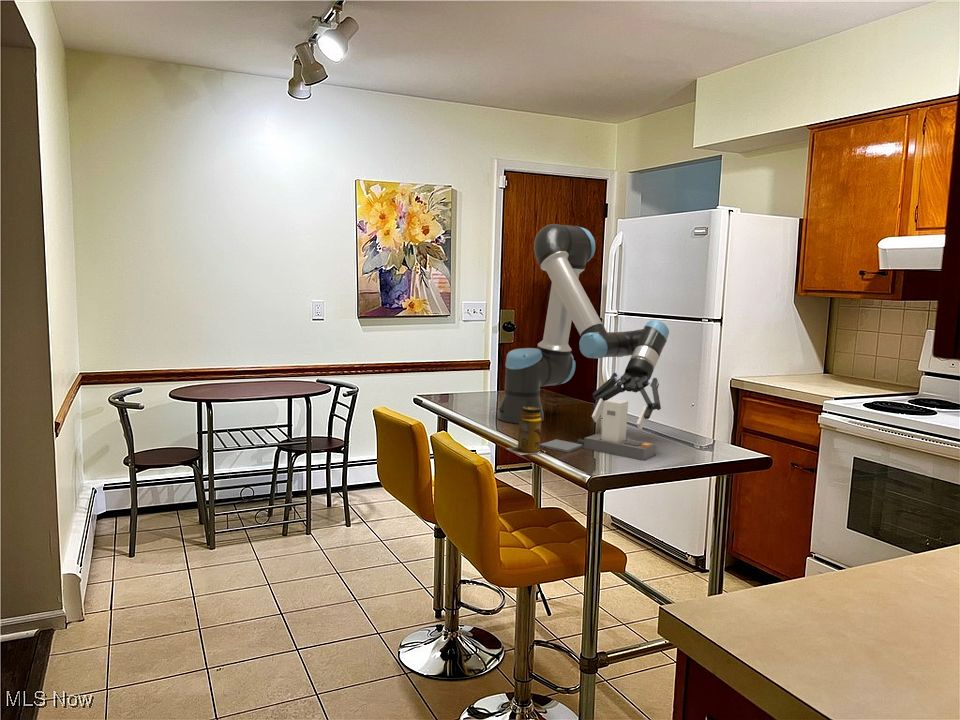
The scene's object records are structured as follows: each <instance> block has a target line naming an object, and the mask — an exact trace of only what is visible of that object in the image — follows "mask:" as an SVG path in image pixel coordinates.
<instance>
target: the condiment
mask: <svg viewBox="0 0 960 720" xmlns="http://www.w3.org/2000/svg"><path fill="white" fill-rule="evenodd" d="M541 433H542V422H541V418H540V408H537V407H530V406H528V407H522V409H521V417H520V418H519V424H518V435H517V436H518V438H517V439H518V440H517V446H515V447H506V448H505V449H506V450H508V451H509V452H512V453H514V454H517V455H520V456H524V455H525V456H526V455H532V454H533V455H534V454H539V453H538V452H539V450H541V449H540V448H541V447H540V444H541ZM543 451H544V453H546V451H545V450H543Z"/></svg>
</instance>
